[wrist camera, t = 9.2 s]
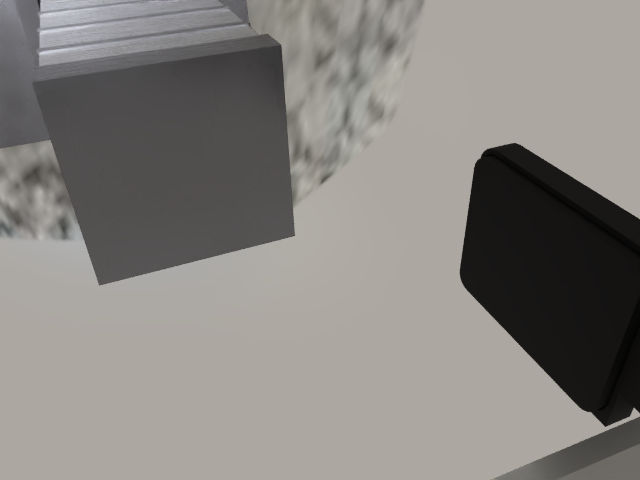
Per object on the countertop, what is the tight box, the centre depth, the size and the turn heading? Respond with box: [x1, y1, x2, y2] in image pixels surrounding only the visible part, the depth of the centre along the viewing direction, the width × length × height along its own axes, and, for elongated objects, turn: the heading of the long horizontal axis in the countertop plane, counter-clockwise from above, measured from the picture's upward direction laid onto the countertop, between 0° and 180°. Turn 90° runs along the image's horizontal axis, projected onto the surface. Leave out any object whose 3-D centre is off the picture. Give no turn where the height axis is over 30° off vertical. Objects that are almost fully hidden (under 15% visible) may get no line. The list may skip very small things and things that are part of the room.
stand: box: [0, 0, 248, 148], centre depth 28 cm, size 16×16×12 cm
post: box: [32, 0, 295, 285], centre depth 20 cm, size 5×5×17 cm
